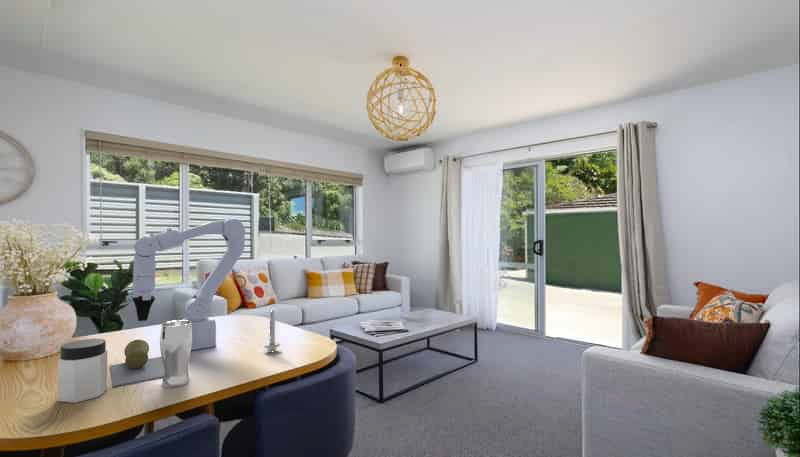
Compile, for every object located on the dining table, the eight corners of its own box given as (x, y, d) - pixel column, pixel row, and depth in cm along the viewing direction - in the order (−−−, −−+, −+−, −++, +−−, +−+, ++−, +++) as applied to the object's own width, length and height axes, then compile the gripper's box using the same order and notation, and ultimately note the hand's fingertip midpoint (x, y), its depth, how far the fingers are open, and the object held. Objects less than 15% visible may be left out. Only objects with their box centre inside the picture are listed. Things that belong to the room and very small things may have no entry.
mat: (172, 356, 117) (172, 354, 117) (182, 373, 102) (182, 372, 102) (110, 366, 107) (110, 365, 107) (112, 387, 93) (112, 386, 93)
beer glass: (168, 391, 91) (169, 328, 92) (153, 384, 95) (154, 324, 95) (197, 381, 97) (197, 322, 97) (182, 375, 101) (182, 318, 101)
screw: (261, 353, 119) (267, 349, 124) (276, 354, 119) (282, 349, 124) (261, 311, 119) (267, 308, 124) (277, 312, 119) (282, 308, 124)
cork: (142, 362, 113) (142, 374, 104) (119, 356, 110) (118, 368, 101) (153, 343, 115) (154, 353, 106) (131, 336, 112) (131, 346, 103)
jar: (102, 384, 95) (102, 336, 95) (111, 393, 90) (112, 342, 90) (54, 396, 88) (54, 344, 88) (61, 407, 83) (61, 351, 83)
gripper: (126, 274, 121) (124, 317, 121) (131, 279, 110) (129, 326, 110) (152, 273, 126) (150, 315, 125) (159, 278, 115) (158, 323, 114)
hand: (142, 320), depth 118 cm, fingers closed
